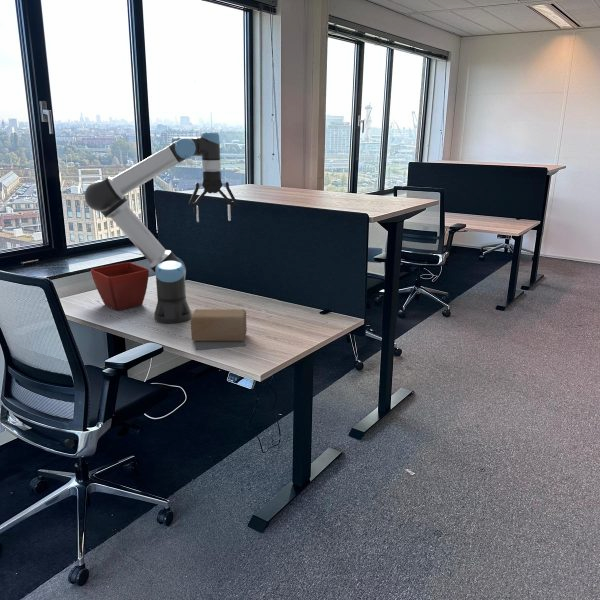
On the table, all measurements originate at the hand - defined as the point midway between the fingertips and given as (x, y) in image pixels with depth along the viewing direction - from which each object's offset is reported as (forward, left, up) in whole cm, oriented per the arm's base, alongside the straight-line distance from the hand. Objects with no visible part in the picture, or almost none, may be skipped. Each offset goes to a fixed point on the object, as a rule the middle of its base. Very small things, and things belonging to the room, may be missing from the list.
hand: (213, 220), depth 230 cm
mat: (-4, -44, -39) cm, 59 cm away
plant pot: (-41, +11, -39) cm, 58 cm away
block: (+7, -43, -33) cm, 55 cm away
